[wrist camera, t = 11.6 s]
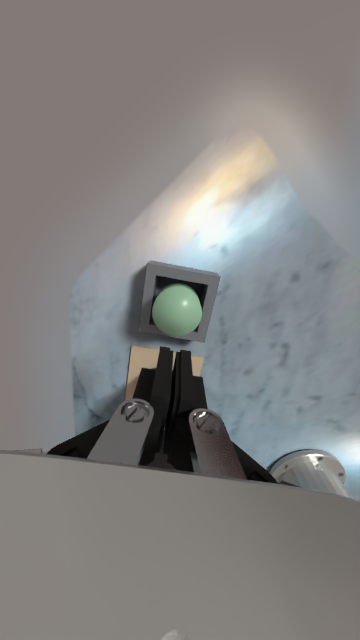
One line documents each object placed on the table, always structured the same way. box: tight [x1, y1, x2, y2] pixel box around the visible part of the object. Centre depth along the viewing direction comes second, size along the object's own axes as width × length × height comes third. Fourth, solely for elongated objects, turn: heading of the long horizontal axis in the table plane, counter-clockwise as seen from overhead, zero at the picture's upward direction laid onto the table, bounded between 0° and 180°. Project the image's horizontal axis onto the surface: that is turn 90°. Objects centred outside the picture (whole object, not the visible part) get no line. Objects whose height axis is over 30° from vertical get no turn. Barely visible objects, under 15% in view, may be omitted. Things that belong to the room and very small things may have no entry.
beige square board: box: [125, 345, 204, 400], centre depth 32 cm, size 11×10×1 cm
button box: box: [139, 261, 220, 342], centre depth 26 cm, size 8×8×3 cm
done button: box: [152, 283, 202, 336], centre depth 24 cm, size 5×5×3 cm
